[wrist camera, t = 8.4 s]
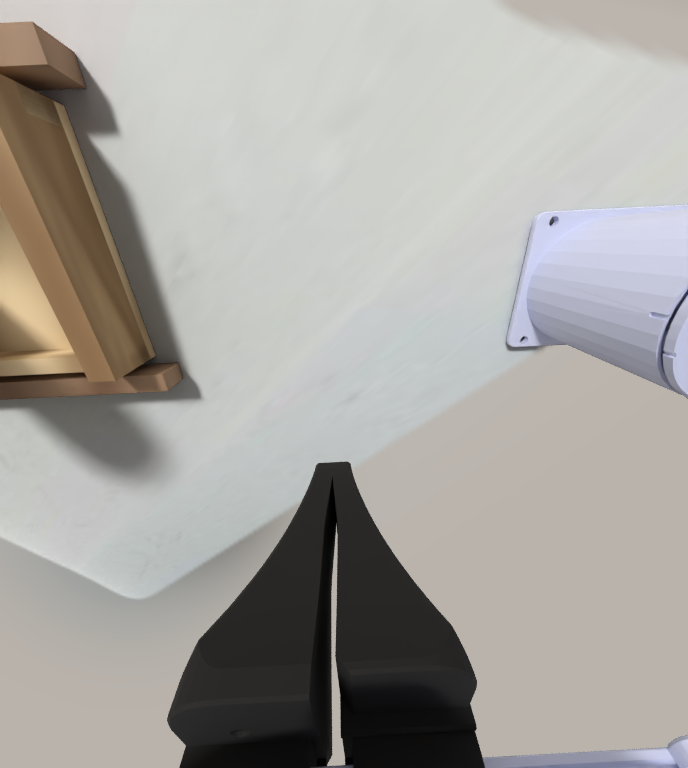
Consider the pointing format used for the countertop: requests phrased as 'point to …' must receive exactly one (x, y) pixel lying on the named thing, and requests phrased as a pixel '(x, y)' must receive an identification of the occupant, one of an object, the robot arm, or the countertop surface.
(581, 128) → the countertop surface
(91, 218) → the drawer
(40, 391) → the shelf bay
